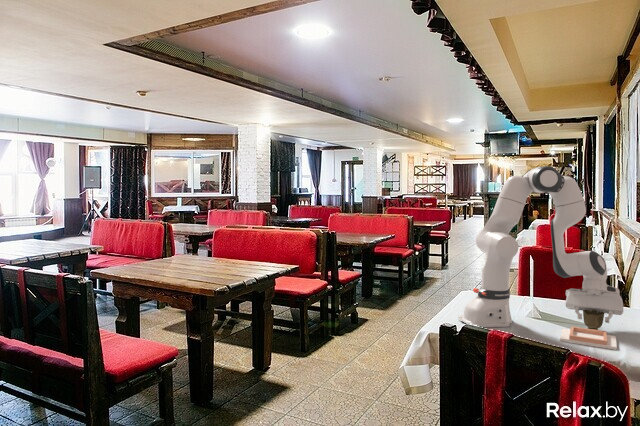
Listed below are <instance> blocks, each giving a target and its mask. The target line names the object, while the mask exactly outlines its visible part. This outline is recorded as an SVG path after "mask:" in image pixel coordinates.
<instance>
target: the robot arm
mask: <svg viewBox="0 0 640 426" xmlns="http://www.w3.org/2000/svg"><path fill="white" fill-rule="evenodd" d="M534 193H535V194H536V193H538V194H544V193H548V195H549V196H551V199H552V201H553V205H554V210H555V212H554V213H555V215H554V217H553V218H552V219H551V220H550V221H551V222H550V237H551V247H552V268H553V271H554V272H555V274H556V275H557V276H559V277H561V278H563V279H566V278H572V277H576V276H577V277H578V276H583V277H582V278H583V281H582V287H581V288H573V287H572V288H569V289H566V290H565V296H566V299H565V307H566V309H568V310H574V312H575V314H576V315H577V319H578V320H582V319H583V313H580V311H582V312H583V310H585V309H586V310H589V309H590V311H592V310H597V313H598V311H600V312H603V313H604V314H607V315H608V316H604V323H605V324H610V320H611V319H612V318H613V315H616V316H622V315H623V313H624V302H623V298H622V296H621V295H620V292H621V291H620V288H617V287H615V286H611V285H608V284H607V279H608V267H607V262H606V260H605V258H603V256H602V255H601V254H599V253H598V252H596V251H595V250H584V251H579V252H572V253H567V252H566V250H565V240H564V239H565V237H564V234H565V232H566V231H567V230H568V229H569V228H570V227H573V226H575V225H576V224H577V223H579V222H581V221H582V220H583V218H584V217H585V216H586V213H587V208H586V202H585V199H584V197H583V194H582V191H581V188H580V187H579V183H577V181H576V180H575V178H574V177H570V176H563V175H562V174H561V173H560V172H559V171H558V170H557V169H556V168H555V167H552V166H549V165H545V166H536V167H534V168H532V169H528V170H527V171H526V172H525V173H524V174H523V175H512V176H509V177H508V178H507V179H506V181H505V182H504V183H503V186H502V188H501V189H500V192H499V195H498V197H497V200H496V201H495V205H494V208H493V210H492V213H491V215H490V217H489V219H488V221H486V223H485V225H484V227H483V228H482V229H481V230H480V231H479V232H478V233H477V235H476V237H475V244H476V246H477V248H478V249H479V250H480V251H481V252H482V253H484V254H486V259H485V264H484V266H483V267H482V269H481V286H480V289H479V288H477V287H474V288H472V292H474V293H475V294H477V296H475V297H474V298H473V299H472V300H470V301H469V302H468V303H466V305H465V306H464V309H463V314H462V315H458V318H459V319H460V320H462V321H464V322H465V323H468V324H470V323H472V325H477V326H481V327H480V328H498V327H499V328H500V327H502V328H505V327H507V328H508V327H510V326H511V324H512V323H513V319H512V315H511V308H510V297H511V289H510V271H511V270H510V269H511V265H512V263H513V259H514V257H515V256H516V255H517V253H518V251H519V243H518V241H517V240H516V239H515V237H513V236H512V235H511V234H510V232H511V231H512V229H513V228H514V227H515V226H516V225H517V224H518V223H519V222H520V220H521V217H522V214H523V211H524V207H525V205H526V203H527V199H528V198H529V196H530V195H531V194H534ZM458 318H457V319H458ZM459 319H458V320H459Z"/></svg>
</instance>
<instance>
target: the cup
mask: <svg viewBox="0 0 640 426" xmlns="http://www.w3.org/2000/svg"><path fill="white" fill-rule="evenodd" d="M582 319H583V323H584V325H585V326H586V327H587V329H593V330H599V328H601V327H602V325H603V323H604V320H605V313H603V312H600V311H598V312H597V310H592V311H590V309H589V310H586V309H585V310H583V311H582Z"/></svg>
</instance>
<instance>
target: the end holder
mask: <svg viewBox="0 0 640 426" xmlns="http://www.w3.org/2000/svg"><path fill="white" fill-rule="evenodd" d="M607 333H608V331H606V330H599V329H598V330H593V329H588V328H586V327H578V326H573V325H572V326H570V328H562V329H561V334H560V337H559V342H565V343H570V344H577V345H584V346H591V347H597V348H602V349H608V350H615V351H616V350H617V348H618V347H617V345H618V344H617V336H616V335H610V334H607Z"/></svg>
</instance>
